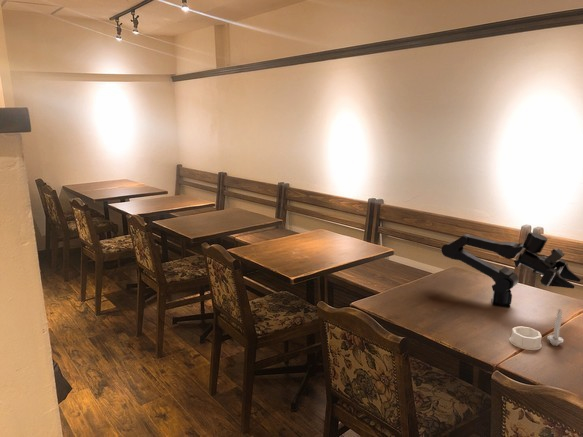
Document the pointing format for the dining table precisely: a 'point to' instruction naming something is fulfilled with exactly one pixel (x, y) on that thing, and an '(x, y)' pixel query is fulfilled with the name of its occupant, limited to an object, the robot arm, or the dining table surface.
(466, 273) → the dining table surface
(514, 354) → the dining table surface
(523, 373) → the dining table surface
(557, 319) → the screw
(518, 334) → the white pet bowl
